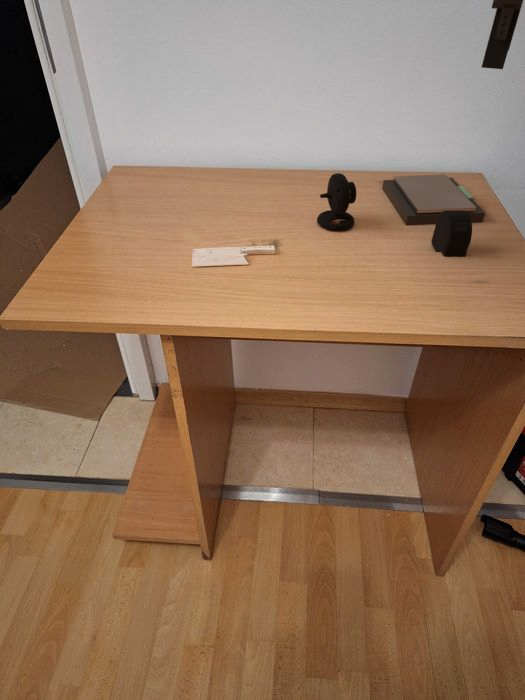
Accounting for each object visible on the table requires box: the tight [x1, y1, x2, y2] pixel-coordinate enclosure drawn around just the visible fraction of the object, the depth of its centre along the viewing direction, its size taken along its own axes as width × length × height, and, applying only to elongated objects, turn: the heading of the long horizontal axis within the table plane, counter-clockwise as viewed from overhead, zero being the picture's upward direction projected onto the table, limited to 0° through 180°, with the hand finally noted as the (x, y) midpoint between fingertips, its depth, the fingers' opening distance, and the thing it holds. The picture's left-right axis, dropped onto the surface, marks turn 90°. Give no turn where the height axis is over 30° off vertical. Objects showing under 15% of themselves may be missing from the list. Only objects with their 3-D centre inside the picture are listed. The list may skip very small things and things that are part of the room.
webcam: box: [316, 172, 357, 232], centre depth 95 cm, size 8×8×10 cm
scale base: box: [381, 177, 486, 226], centre depth 104 cm, size 16×18×3 cm
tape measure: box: [430, 210, 473, 258], centre depth 84 cm, size 15×4×8 cm, turn 1°
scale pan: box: [392, 174, 476, 213], centre depth 103 cm, size 12×17×1 cm
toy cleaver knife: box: [191, 245, 276, 268], centre depth 87 cm, size 5×15×1 cm, turn 94°
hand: (495, 58), depth 70 cm, fingers open, 13 cm apart
